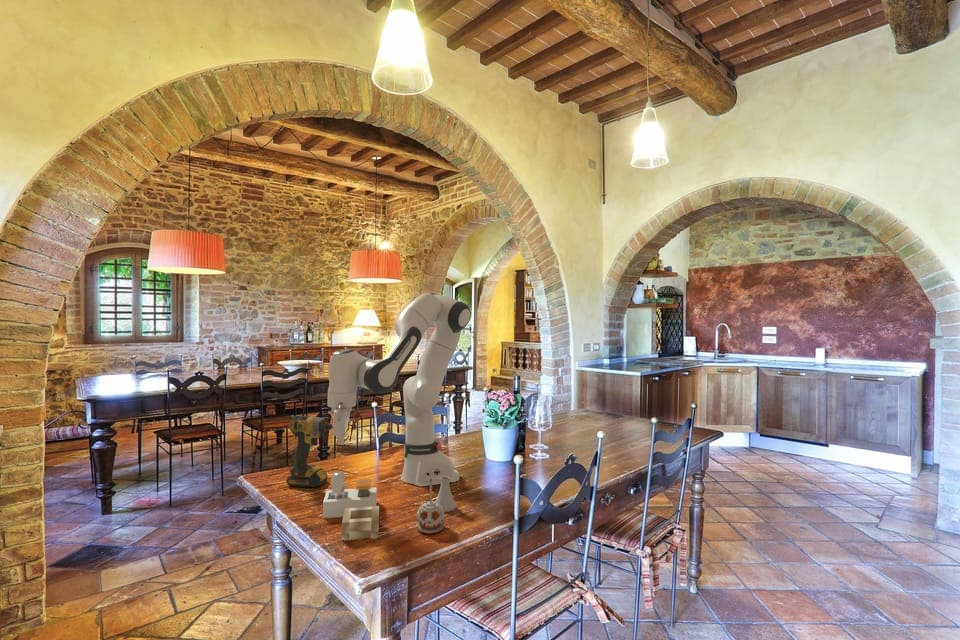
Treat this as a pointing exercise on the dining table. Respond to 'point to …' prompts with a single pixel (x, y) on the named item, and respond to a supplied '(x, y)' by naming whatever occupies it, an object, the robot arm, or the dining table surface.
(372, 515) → the beige square holder
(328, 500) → the socket block
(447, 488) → the flask
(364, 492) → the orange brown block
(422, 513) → the decorative ornament
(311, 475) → the cordless drill
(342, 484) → the grey metallic cylinder
